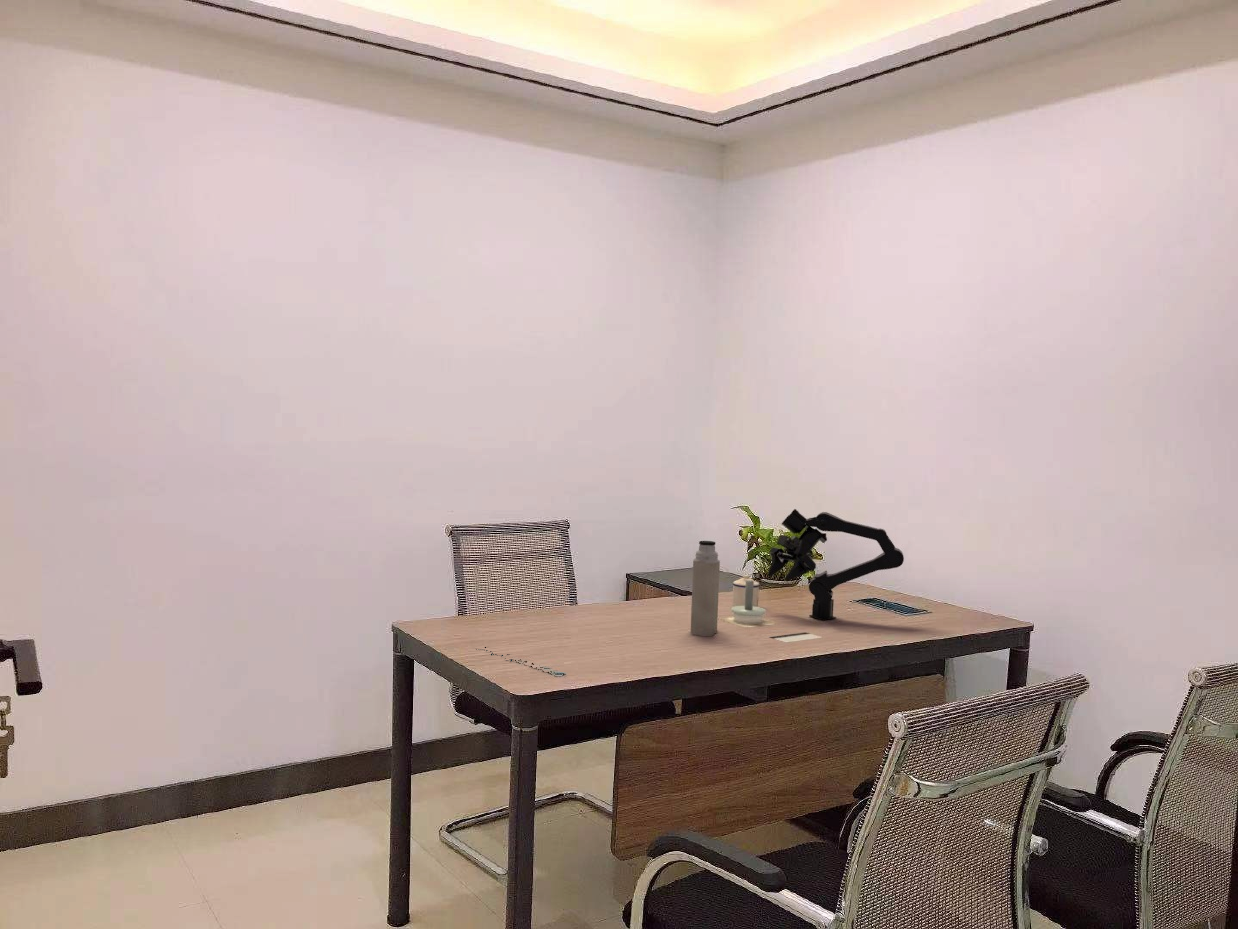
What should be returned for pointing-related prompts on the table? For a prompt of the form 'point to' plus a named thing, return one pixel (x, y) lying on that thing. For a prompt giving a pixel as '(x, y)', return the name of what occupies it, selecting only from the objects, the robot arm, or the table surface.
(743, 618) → the bowl
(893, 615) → the table surface
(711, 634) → the thermos bottle
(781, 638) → the mat
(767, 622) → the board
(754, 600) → the teacup with lid
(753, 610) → the lid
